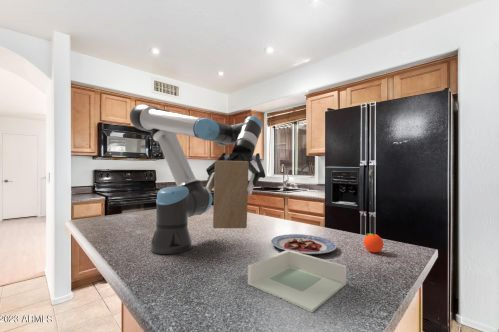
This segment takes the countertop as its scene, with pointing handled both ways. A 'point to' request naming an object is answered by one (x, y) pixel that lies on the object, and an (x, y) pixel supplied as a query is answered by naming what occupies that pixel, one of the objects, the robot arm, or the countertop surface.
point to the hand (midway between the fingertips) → (228, 191)
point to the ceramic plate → (303, 243)
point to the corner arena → (298, 278)
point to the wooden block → (230, 194)
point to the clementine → (373, 243)
